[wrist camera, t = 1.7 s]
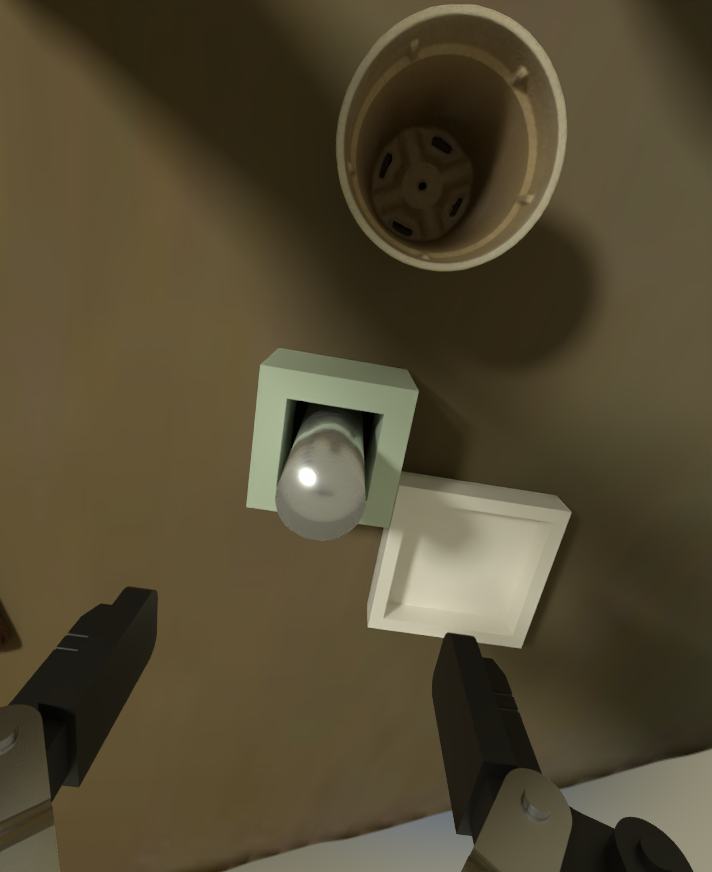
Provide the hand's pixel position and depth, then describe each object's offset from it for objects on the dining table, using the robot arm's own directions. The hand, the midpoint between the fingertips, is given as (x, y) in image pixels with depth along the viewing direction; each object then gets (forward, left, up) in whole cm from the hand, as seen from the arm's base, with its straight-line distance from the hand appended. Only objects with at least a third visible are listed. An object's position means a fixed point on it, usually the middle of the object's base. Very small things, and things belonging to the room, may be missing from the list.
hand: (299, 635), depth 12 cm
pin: (0, 0, -20) cm, 20 cm away
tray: (+11, -9, -20) cm, 24 cm away
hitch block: (0, 0, -20) cm, 20 cm away
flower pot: (+3, +15, -20) cm, 25 cm away
